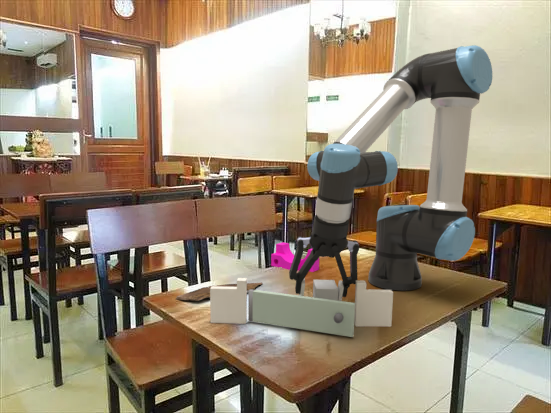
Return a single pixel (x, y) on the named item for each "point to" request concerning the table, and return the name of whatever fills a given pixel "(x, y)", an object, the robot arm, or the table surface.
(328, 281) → the white stepped block
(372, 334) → the table surface
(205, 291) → the wooden fragment
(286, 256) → the magenta saddle bracket
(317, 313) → the spring door
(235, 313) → the wall frame
